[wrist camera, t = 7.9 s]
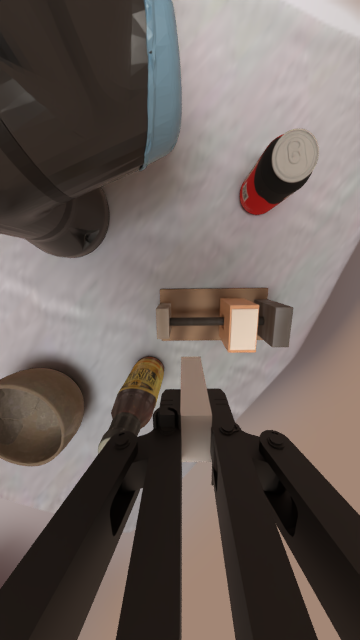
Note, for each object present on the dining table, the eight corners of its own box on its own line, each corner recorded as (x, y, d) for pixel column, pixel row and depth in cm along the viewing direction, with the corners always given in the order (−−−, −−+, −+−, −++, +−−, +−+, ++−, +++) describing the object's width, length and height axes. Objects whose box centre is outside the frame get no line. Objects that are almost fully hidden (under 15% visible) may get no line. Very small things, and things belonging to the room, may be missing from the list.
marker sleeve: (220, 298, 35) (230, 305, 27) (243, 298, 35) (260, 305, 27) (219, 336, 37) (228, 353, 29) (240, 335, 37) (256, 353, 29)
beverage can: (240, 219, 35) (269, 193, 23) (235, 179, 33) (264, 129, 21) (276, 212, 34) (325, 181, 23) (273, 171, 33) (324, 115, 21)
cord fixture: (162, 339, 40) (155, 360, 30) (160, 289, 38) (152, 295, 28) (261, 338, 40) (287, 359, 30) (266, 288, 37) (295, 293, 28)
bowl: (7, 412, 45) (-41, 451, 35) (25, 344, 41) (-25, 366, 31) (81, 438, 46) (53, 482, 36) (104, 374, 42) (81, 405, 32)
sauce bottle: (164, 354, 41) (146, 429, 21) (165, 381, 42) (149, 474, 23) (132, 355, 41) (86, 428, 22) (134, 382, 42) (93, 474, 23)
